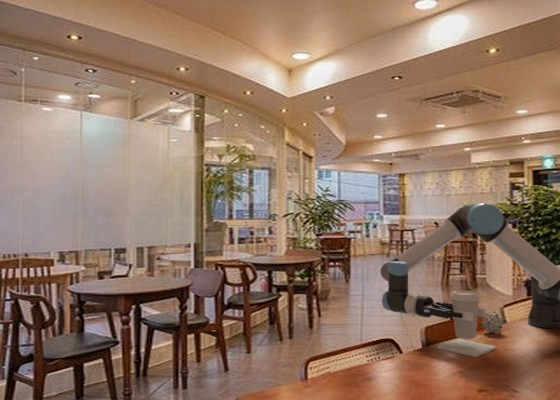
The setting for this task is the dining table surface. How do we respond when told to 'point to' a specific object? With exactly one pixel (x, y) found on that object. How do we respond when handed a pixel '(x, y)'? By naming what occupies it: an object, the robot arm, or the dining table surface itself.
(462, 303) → the coffee cup
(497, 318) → the game die
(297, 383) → the dining table surface
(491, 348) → the mat
